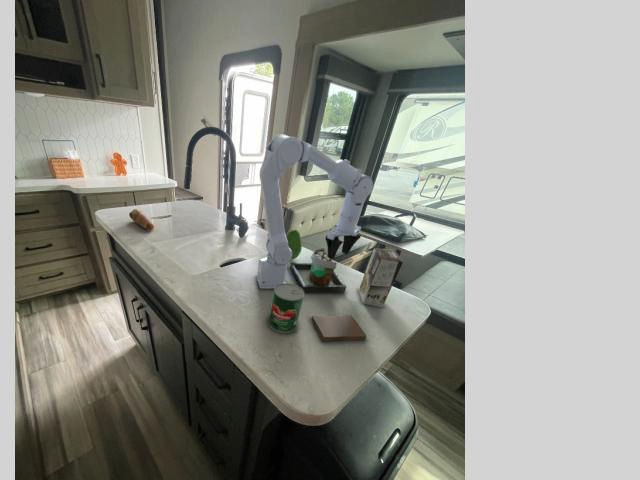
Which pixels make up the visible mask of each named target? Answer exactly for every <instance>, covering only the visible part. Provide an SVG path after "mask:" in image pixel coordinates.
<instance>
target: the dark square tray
mask: <svg viewBox="0 0 640 480" xmlns="http://www.w3.org/2000/svg"><path fill="white" fill-rule="evenodd" d="M311 266H312V262H290V263H289V272H290V273H291V274H292V277H293V279H294V280H295V282H296V284H297V286H299V287H300V288H302V290H303V291H304V294H342V293H344V294H345V293H346V290H347V285H346V283H344V281H343V280H342V279H341V277H339V275H338V274H337V273H336V271H335V270H334V271H333V274H332V277H331V281H332V282H333V283H334V284H329V285H316V284H306V283H305V281H304V279H303V277H302V276H301V275H300V273H299V271H311Z"/></svg>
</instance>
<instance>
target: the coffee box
mask: <svg viewBox="0 0 640 480" xmlns="http://www.w3.org/2000/svg"><path fill="white" fill-rule="evenodd" d="M403 265H404V261H403V259H402V258H401V256H400V255H399V254H398V253H397V251H396V250H395V249H390V248H381V247H380V248H379V247H374V248H373V250H372V253H371V256H370V259H369V261H368V264H367V266H366V269H365V271H364V275H363V277H362V280H361V283H360V285H359V289H358V293H359V295H360V299H361V301H362V304H363V305H367V306H368V305H369V306H374V307H379V308H383V307H384V305H385V302H386V300H387V298H388V296H389V295H390V291H391V289H392V287H393V286H394V283H395V281H396V279H397V276H398V275H399V273H400V270H401V268H402V266H403Z"/></svg>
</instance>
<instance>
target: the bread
mask: <svg viewBox="0 0 640 480" xmlns="http://www.w3.org/2000/svg"><path fill="white" fill-rule="evenodd" d="M128 215H129V218H130V219H131V220H132V221H133V222H134V223H136V224H137V225H139V226H140V227H142V228H143V229H145V230H146V231H148V232H149V231H150V232H152V231H153V230H154V229H155V225H154V224H153V223H152V221H151V220H150V219H149V218H148V217H147V216H146V215H145V214H144V213H143V212H142V211H141V210H140V209H138V208H134V209H133V210H131V211H130V212H129V214H128Z"/></svg>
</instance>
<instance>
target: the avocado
mask: <svg viewBox="0 0 640 480" xmlns="http://www.w3.org/2000/svg"><path fill="white" fill-rule="evenodd" d="M286 238H287V241H288V246H289V248H290V249H291V251H292V258H291V259H290V260H295V259H297V258H298V257H299V256H300V254H301V252H302V249H303V242H302V238H301V234H300V232H299V230H298V229H296V228H293V229H290V230H289V231H288V232H287V234H286Z"/></svg>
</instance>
